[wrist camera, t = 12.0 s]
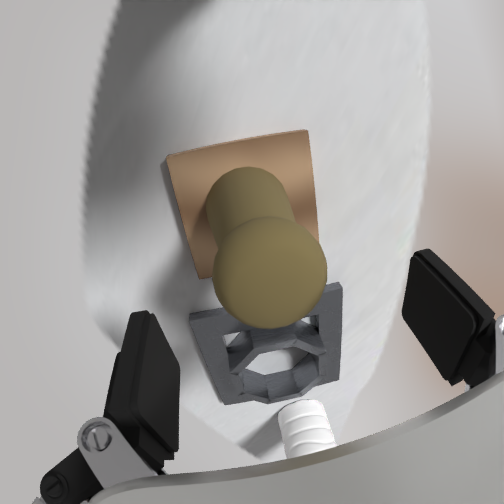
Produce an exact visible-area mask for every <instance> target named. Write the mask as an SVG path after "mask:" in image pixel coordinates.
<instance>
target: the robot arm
mask: <svg viewBox="0 0 504 504" xmlns="http://www.w3.org/2000/svg"><path fill="white" fill-rule="evenodd" d="M494 315H495V313H494V312H493V311H492V309H491V308H490V307H489V306H488V305H487V304H486V303H485V302H484V301H483V300H482V299H481V298H480V297H479V296H478V295H477V294H476V293H475V292H474V291H473V290H472V289H471V288H470V287H469V286H468V285H467V284H466V283H465V282H464V281H463V280H462V279H461V278H460V277H459V276H458V275H457V274H456V273H455V272H454V271H453V270H452V269H451V268H450V267H449V266H448V265H447V264H446V263H445V262H443V261H442V260H441V259H440V258H439V257H438V256H437V255H436V254H435V253H434V252H432V251H431V250H430V249H424V250H420V251H416V252H415V253H414V255H413V257H411V260H410V266H409V273H408V279H407V285H406V291H405V297H404V302H403V307H402V316H403V319H404V320H405V322H406V323H407V324H408V326H409V327H410V329H411V330H412V332H413V333H414V335H415V336H416V338H417V339H418V341H419V342H420V343H421V345H422V346H423V348H424V349H425V351H426V352H427V354H428V355H429V357H430V358H431V360H432V361H433V363H434V364H435V366H436V367H437V369H438V371H439V372H440V374H441V375H442V377H443V378H444V379H445V380H448V381H449V383H450V384H451V386H453V385H455V384H457V383H459V382H461V381H462V380H463V379H464V381H465V382H466V386H465V393H463V394H461V395H459V396H458V397H456V398H454V399H452V400H450V401H449V402H446V403H444V404H442V405H440V406H438V407H436V408H434V409H432V410H430V411H428V412H426V413H424V414H421V415H419V416H417V417H415V418H413V419H410V420H408V421H406V422H403V423H401V424H399V425H396V426H394V427H391V428H388V429H386V430H384V431H381V432H378V433H375V434H373V435H370V436H367V437H364V438H361V439H358V440H355V441H353V442H349V443H346V444H343V445H339V446H336V447H333V448H329V449H326V450H322V451H318V452H314V453H311V454H307V455H303V456H298V457H294V458H290V459H285V460H280V461H275V462H270V463H264V464H259V465H253V466H246V467H239V468H232V469H224V470H217V471H206V472H196V473H183V474H182V473H181V474H170V475H168V474H167V473H166V472H165V470H164V469H163V467H164V460H174V452H177V451H178V449H179V392H180V366H179V363H178V361H177V359H176V357H175V355H174V353H173V351H172V349H171V347H170V345H169V343H168V341H167V339H166V337H165V335H164V333H163V331H162V329H161V327H160V325H159V323H158V321H157V319H156V316H155V315H154V314H153V313H152V314H150V313H149V312H148V311H147V310H145V311H139V312H133V313H131V315H130V318H129V321H128V325H127V329H126V333H125V337H124V341H123V345H122V349H121V352H119V353H118V354H117V356H116V359H115V363H114V367H113V372H112V376H111V380H110V385H109V390H108V394H107V399H106V404H105V409H104V415H103V417H97V418H92V419H90V420H88V421H87V422H86V423H85V424H83V426H82V427H81V428H80V430H79V432H78V436H77V443H78V446H79V447H78V448H77V449H76V450H75V451H73V452H72V453H71V454H70V455H69V456H67V457H66V458H65V459H64V460H62V461H61V462H60V463H59V464H57V465H56V466H55V467H54V468H52V469H51V470H50V471H49V472H47V473H46V474H45V475H44V477H43V478H42V481H41V484H40V493H41V498H38V497H36V499H35V500H34V502H33V503H32V504H504V315H501V316H500V317H498V318H497V320H496V321H495V319H494Z"/></svg>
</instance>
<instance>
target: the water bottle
mask: <svg viewBox="0 0 504 504" xmlns="http://www.w3.org/2000/svg"><path fill="white" fill-rule="evenodd" d="M278 423H279V427H280V431H281V435H282V440H283V443H284V449H285V453H286V457H287V459H290V458H294V457H298V456H303V455H307V454H311V453H314V452H318V451H322V450H326V449H329V448H333V447H336V446H337V445H336V443H335V442H334V441H335V439H334V436H333V433H332V431H331V427H330V424H329V421H328V420H327V415H326V412H325V409H324V406H323V404H322V403H321V402H319V401H317V400H313V399H309V400H300V401H296V402H294V404H292V403H291V404H289V405H287V406H285V407H284V408H283V409H282V410H281V411H280V412H279V414H278Z"/></svg>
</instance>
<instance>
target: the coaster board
mask: <svg viewBox="0 0 504 504" xmlns="http://www.w3.org/2000/svg"><path fill="white" fill-rule="evenodd" d="M166 160H167V164H168V168H169V172H170V176H171V180H172V184H173V188H174V192H175V196H176V200H177V203H178V207H179V211H180V215H181V218H182V222H183V225H184V229H185V233H186V236H187V240H188V243H189V247H190V250H191V254H192V257H193V260H194V264H195V267H196V270H197V274H198V277H199V280H200V279H205V278H209V277H212V271H213V264H214V258H215V255H216V253H217V251H218V247H217V244H216V241H215V239H214V236H213V233H212V230H211V227H210V224H209V222H208V218H207V213H206V202H207V195H208V193H209V191H210V189H211V187H212V186H213V184H214V183H215V182H216V181H217V180H218V179H219V178H220V177H221V176H222V175H223V174H225V173H227V172H229V171H231V170H233V169H235V168H241V167H248V166H250V167H256V168H262V169H264V170H266V171H268V172H270V173H271V174H273V175H274V176H275V177H276V178H277V179H278V180H279V181H280V182H281V183H282V185H283V187H284V189H285V191H286V194H287V196H288V199H289V202H290V205H291V208H292V211H293V214H294V217H295V221H296V223H297V224H299V225H301V226H303V227H305V228H306V229H307V230H308V231H309V232H310V233H311V234H312V235H313V237H314V238H315V239H316V240H317V241H318V242H319V234H318V221H317V209H316V198H315V187H314V177H313V168H312V159H311V151H310V143H309V135H308V131H307V130H296V131H289V132H282V133H275V134H269V135H263V136H257V137H251V138H245V139H240V140H235V141H229V142H224V143H219V144H215V145H210V146H205V147H201V148H196V149H192V150H188V151H183V152H179V153H175V154H171V155H168V156H167V157H166Z"/></svg>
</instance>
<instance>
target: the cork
mask: <svg viewBox="0 0 504 504" xmlns="http://www.w3.org/2000/svg"><path fill="white" fill-rule="evenodd" d="M206 213H207V218H208V222H209V224H210V227H211V230H212V233H213V236H214V239H215V241H216V244H217V247H218V251H217V253H216V255H215V258H214V264H213V271H212V280H213V284H214V289H215V293H216V296H217V298H218V300H219V301H220V303H221V304H222V306H223V307H224V309H225V310H226V311H227V313H229V314H230V315H231V316H233V317H234V318H236V319H237V320H238V321H240V322H242V323H243V324H246V325H249V326H252V327H255V328H262V329H274V328H280V327H285V326H288V325H290V324H292V323H295V322H297V321H299V320H301V319H302V318H303V317H304V316H306V315H307V314H308V313H310V312H311V311H312V310H313V308H314V307H315V306H316V304H317V303H318V302H319V300H320V298H321V296H322V293H323V291H324V288H325V285H326V282H327V263H326V258H325V256H324V253H323V250H322V248H321V245H320V244H319V242H318V241H317V240H316V239H315V238H314V237H313V235H312V234H311V233H310V232H309V231H308V230H307V229H306V228H305V227H303V226H301V225H299V224H297V223H296V221H295V217H294V214H293V211H292V208H291V205H290V202H289V199H288V196H287V194H286V191H285V189H284V187H283V185H282V183H281V182H280V181H279V180H278V179H277V178H276V177H275V176H274V175H273V174H271V173H270V172H268V171H266V170H264V169H262V168H256V167H250V166H248V167H241V168H235V169H233V170H231V171H229V172H227V173H225V174H223V175H222V176H221V177H220V178H219V179H218V180H217V181H216V182H215V183H214V184H213V186H212V187H211V189H210V191H209V193H208V195H207V202H206Z"/></svg>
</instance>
